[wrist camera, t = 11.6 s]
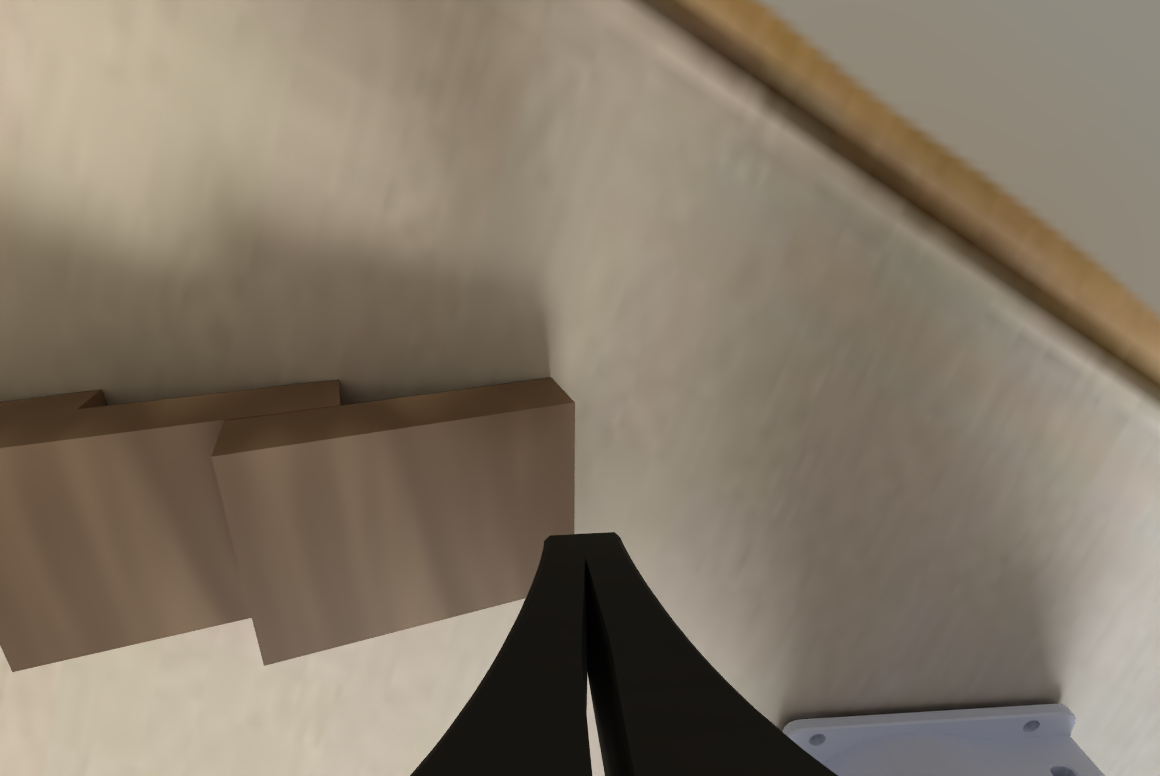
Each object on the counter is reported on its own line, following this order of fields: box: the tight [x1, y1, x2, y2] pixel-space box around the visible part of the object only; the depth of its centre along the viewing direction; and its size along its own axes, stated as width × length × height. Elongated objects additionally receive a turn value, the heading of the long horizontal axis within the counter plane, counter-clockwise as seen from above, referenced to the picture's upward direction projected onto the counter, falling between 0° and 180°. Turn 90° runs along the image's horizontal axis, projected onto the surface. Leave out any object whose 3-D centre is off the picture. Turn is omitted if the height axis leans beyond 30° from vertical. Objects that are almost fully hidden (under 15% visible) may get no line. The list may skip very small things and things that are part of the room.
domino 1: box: [0, 380, 342, 672], centre depth 13 cm, size 2×5×7 cm
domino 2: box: [211, 378, 575, 666], centre depth 14 cm, size 2×5×7 cm
